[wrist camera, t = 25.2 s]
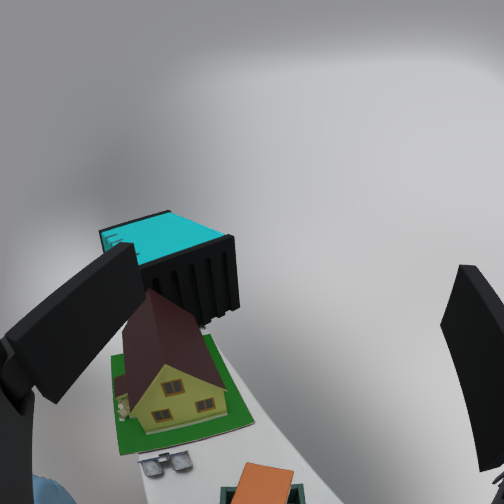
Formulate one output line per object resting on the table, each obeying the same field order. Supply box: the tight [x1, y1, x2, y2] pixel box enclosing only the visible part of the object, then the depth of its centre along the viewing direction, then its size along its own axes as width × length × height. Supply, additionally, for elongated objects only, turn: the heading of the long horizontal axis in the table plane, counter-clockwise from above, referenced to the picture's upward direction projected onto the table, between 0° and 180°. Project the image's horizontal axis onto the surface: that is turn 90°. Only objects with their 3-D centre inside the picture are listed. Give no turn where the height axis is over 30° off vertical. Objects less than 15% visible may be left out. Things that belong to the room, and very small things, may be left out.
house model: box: [111, 287, 255, 455], centre depth 36 cm, size 18×20×13 cm
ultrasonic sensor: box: [138, 451, 192, 476], centre depth 27 cm, size 6×2×3 cm, turn 112°
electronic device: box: [99, 210, 240, 325], centre depth 54 cm, size 25×25×15 cm
